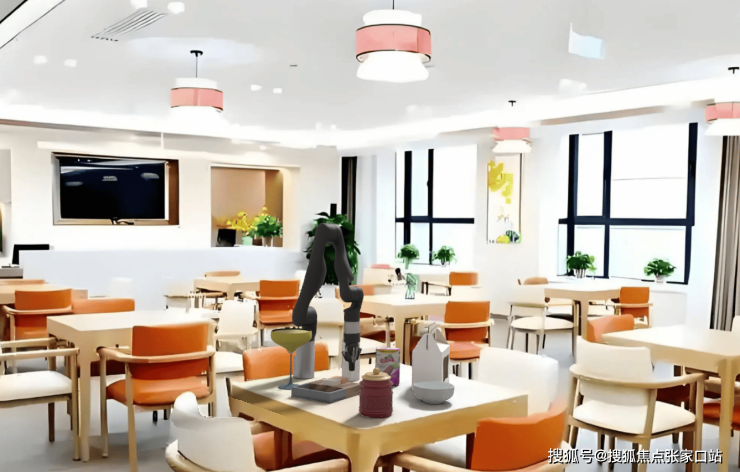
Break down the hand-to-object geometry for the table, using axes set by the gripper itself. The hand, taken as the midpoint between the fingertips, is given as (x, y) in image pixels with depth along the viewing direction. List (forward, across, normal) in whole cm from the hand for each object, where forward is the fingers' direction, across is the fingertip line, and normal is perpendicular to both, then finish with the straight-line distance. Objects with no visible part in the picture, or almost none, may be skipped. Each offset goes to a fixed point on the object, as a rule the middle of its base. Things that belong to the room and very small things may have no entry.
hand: (351, 370), depth 324 cm
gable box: (+8, -24, +27) cm, 37 cm away
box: (+8, +24, 0) cm, 25 cm away
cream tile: (+4, +14, 0) cm, 15 cm away
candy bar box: (+8, -16, +9) cm, 20 cm away
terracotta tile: (+4, +9, 0) cm, 10 cm away
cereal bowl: (+8, +1, +42) cm, 42 cm away
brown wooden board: (+8, +12, 0) cm, 14 cm away
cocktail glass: (+8, +15, -22) cm, 28 cm away
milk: (+8, -14, -10) cm, 19 cm away
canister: (+8, +32, +34) cm, 47 cm away
